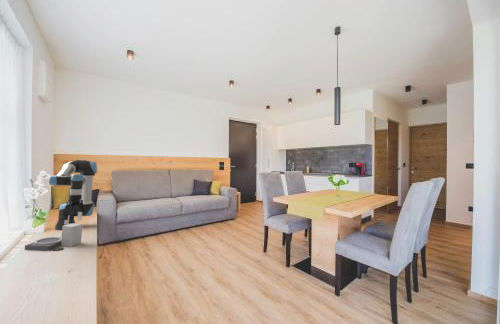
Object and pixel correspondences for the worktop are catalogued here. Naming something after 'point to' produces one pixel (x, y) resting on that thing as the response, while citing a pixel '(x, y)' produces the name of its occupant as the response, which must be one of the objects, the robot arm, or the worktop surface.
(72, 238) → the supplement box
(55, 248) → the lens cap
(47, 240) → the kitchen scale
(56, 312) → the worktop surface
